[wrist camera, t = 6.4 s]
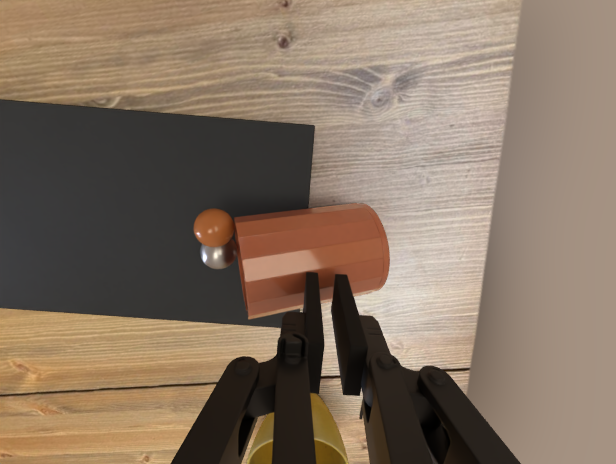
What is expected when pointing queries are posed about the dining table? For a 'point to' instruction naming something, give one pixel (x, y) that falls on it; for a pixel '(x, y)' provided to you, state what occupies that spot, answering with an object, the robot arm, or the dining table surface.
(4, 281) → the mat
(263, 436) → the flower pot
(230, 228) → the brown piece
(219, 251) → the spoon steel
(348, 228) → the spoon cup
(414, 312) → the dining table surface
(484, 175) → the dining table surface
